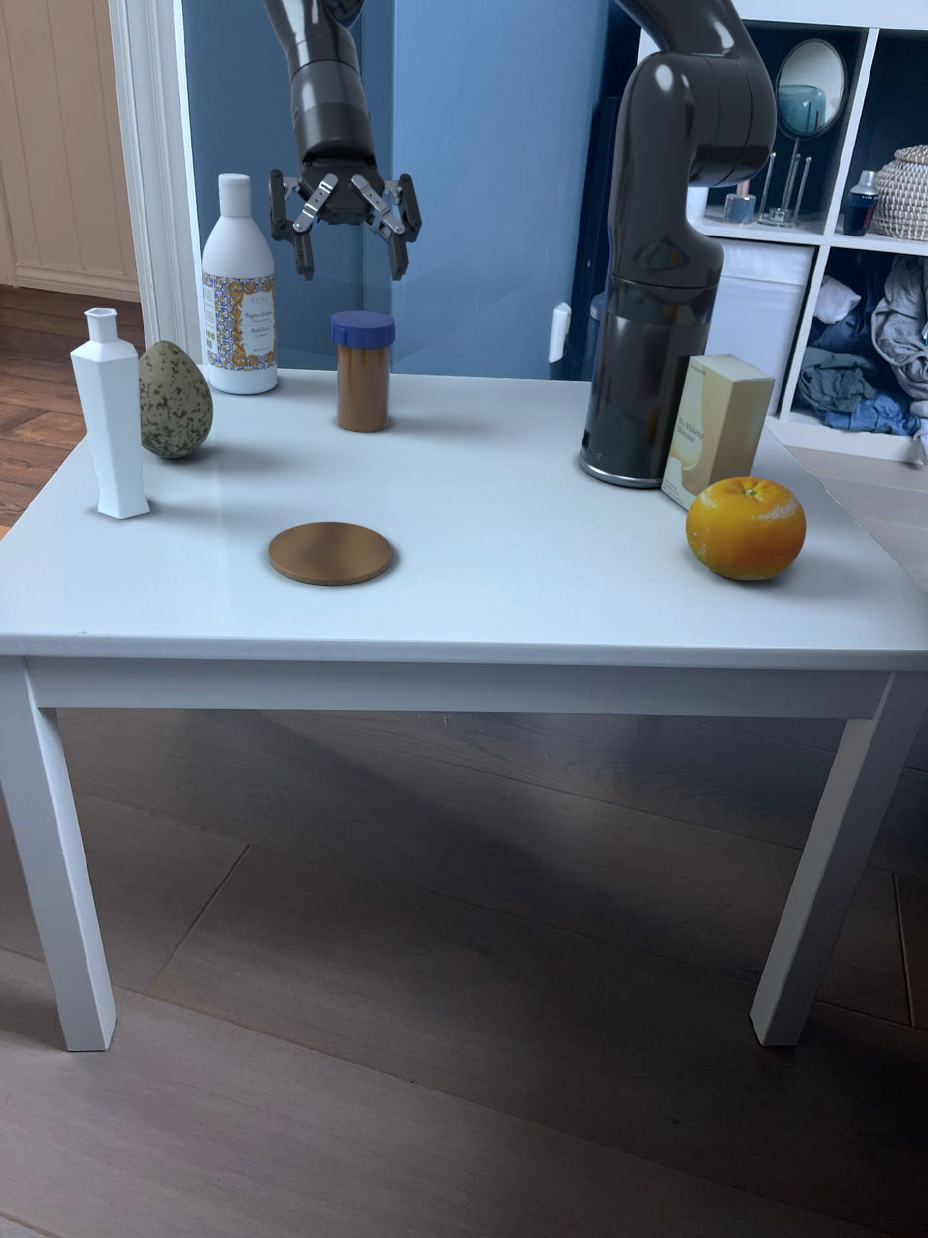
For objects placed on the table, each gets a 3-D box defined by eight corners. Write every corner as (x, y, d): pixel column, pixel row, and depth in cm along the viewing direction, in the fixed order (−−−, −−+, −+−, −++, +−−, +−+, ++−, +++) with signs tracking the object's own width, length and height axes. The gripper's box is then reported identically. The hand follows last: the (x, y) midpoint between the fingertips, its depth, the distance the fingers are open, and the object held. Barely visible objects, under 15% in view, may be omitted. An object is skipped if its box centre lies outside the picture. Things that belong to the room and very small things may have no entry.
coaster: (376, 523, 76) (377, 517, 76) (405, 579, 69) (405, 573, 69) (260, 531, 74) (260, 525, 73) (277, 591, 67) (277, 584, 66)
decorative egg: (158, 434, 88) (147, 323, 83) (230, 448, 87) (224, 336, 82) (113, 463, 82) (99, 345, 77) (190, 478, 81) (180, 359, 76)
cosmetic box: (658, 490, 86) (685, 353, 79) (699, 486, 87) (729, 351, 81) (701, 522, 81) (733, 379, 74) (743, 516, 83) (778, 375, 76)
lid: (317, 336, 90) (317, 315, 89) (365, 327, 94) (365, 307, 93) (359, 352, 87) (360, 331, 86) (406, 342, 91) (407, 321, 90)
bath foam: (233, 400, 97) (222, 183, 86) (196, 380, 101) (181, 171, 91) (291, 388, 101) (287, 180, 91) (253, 369, 105) (245, 168, 95)
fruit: (654, 499, 75) (729, 436, 70) (731, 524, 80) (806, 466, 74) (681, 591, 71) (762, 531, 66) (760, 612, 76) (842, 558, 70)
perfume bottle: (139, 525, 73) (116, 324, 65) (85, 516, 74) (56, 316, 66) (167, 500, 77) (149, 308, 69) (116, 492, 78) (91, 300, 70)
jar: (381, 412, 97) (385, 315, 92) (393, 431, 93) (397, 330, 88) (332, 414, 96) (332, 316, 91) (342, 433, 92) (343, 331, 87)
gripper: (395, 155, 101) (418, 297, 97) (255, 149, 96) (275, 297, 93) (410, 103, 94) (436, 254, 90) (260, 94, 89) (282, 252, 86)
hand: (354, 276), depth 92 cm, fingers open, 8 cm apart
